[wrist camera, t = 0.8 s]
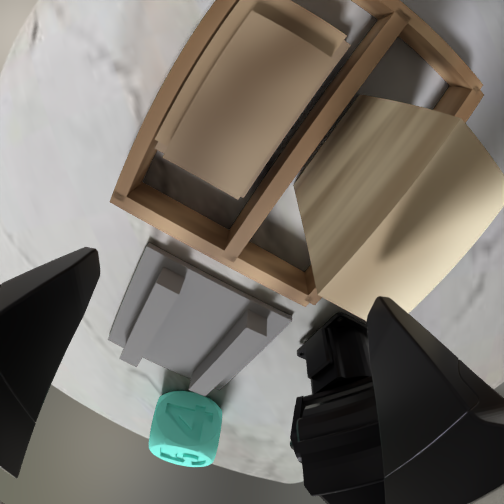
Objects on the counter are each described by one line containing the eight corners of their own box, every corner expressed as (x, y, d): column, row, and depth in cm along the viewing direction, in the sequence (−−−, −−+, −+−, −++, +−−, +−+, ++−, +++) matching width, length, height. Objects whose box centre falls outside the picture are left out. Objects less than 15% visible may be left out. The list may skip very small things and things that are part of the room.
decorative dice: (162, 383, 35) (147, 438, 28) (224, 397, 35) (218, 453, 29) (161, 411, 39) (149, 458, 32) (215, 423, 40) (208, 471, 33)
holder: (291, 316, 27) (293, 338, 25) (219, 386, 34) (217, 405, 32) (148, 242, 24) (137, 261, 22) (109, 335, 31) (100, 354, 28)
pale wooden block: (402, 130, 18) (514, 191, 8) (337, 214, 22) (387, 332, 12) (359, 94, 18) (460, 118, 7) (293, 185, 21) (317, 294, 11)
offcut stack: (343, 48, 16) (364, 39, 12) (245, 187, 21) (240, 216, 17) (255, -4, 14) (252, -27, 10) (164, 142, 20) (138, 159, 16)
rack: (464, 86, 16) (487, 90, 13) (306, 285, 26) (310, 309, 23) (276, -55, 12) (277, -73, 9) (126, 186, 22) (109, 201, 19)
